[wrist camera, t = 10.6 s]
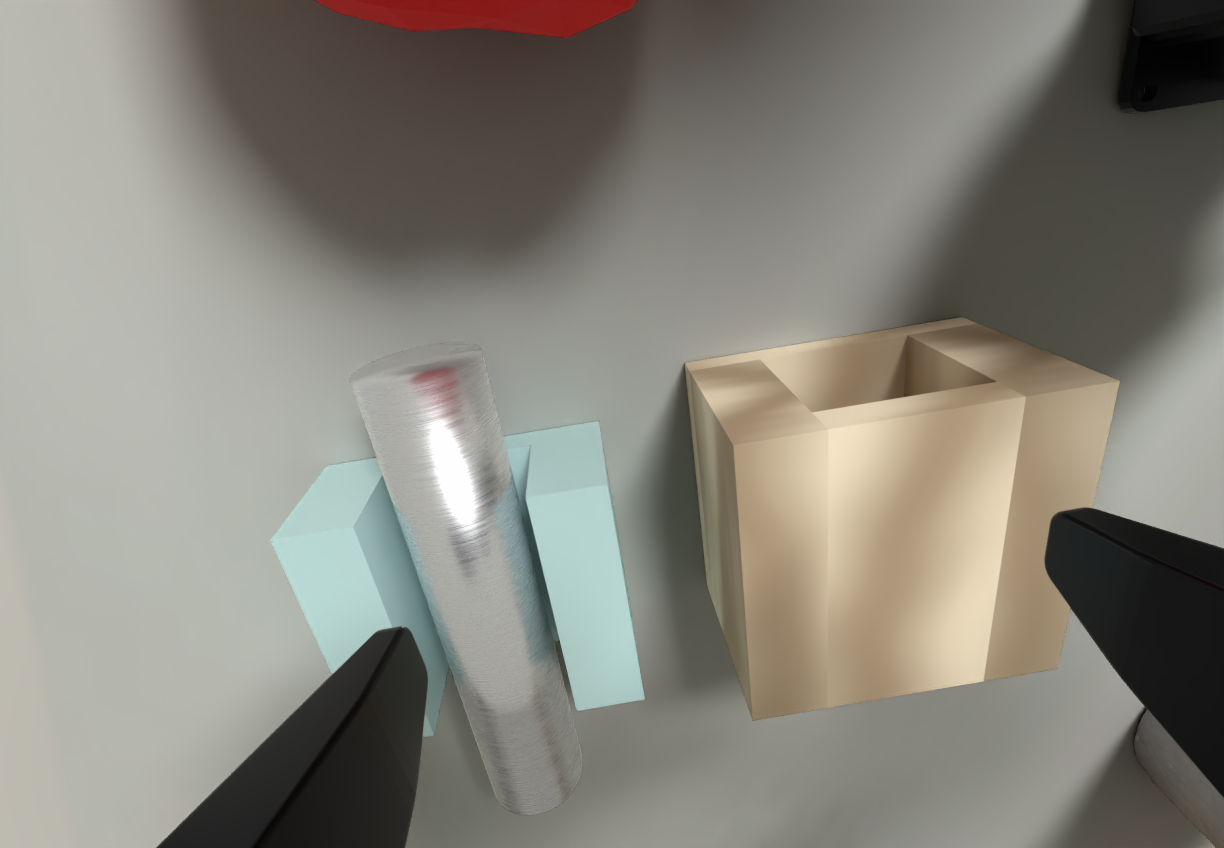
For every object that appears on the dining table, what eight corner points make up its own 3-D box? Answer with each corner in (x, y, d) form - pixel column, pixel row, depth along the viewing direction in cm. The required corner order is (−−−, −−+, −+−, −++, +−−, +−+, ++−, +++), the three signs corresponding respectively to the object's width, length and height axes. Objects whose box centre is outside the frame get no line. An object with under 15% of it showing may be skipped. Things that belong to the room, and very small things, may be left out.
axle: (365, 356, 17) (334, 398, 14) (483, 334, 18) (479, 371, 14) (492, 740, 24) (491, 826, 21) (577, 720, 24) (588, 801, 21)
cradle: (598, 420, 20) (607, 484, 16) (631, 609, 23) (644, 699, 19) (327, 465, 20) (270, 540, 16) (397, 648, 23) (365, 746, 19)
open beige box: (961, 317, 19) (1119, 381, 14) (940, 546, 23) (1057, 668, 18) (684, 363, 19) (733, 445, 14) (707, 585, 23) (752, 720, 17)
